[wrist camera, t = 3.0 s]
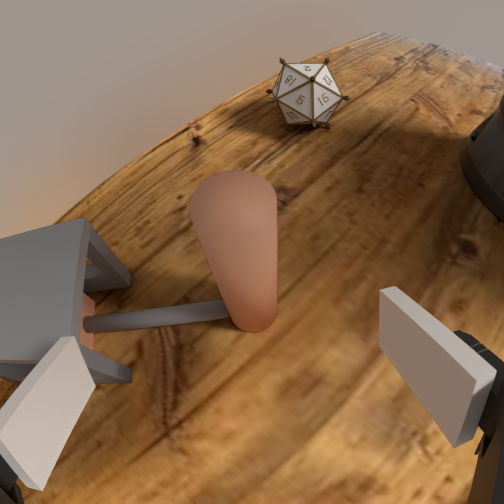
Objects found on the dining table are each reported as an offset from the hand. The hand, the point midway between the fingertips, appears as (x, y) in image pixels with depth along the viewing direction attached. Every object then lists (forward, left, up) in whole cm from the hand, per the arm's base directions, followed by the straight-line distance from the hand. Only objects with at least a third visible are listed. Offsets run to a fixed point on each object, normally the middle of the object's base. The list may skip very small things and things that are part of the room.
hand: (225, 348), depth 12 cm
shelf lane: (+16, -5, -11) cm, 20 cm away
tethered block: (+7, -5, -11) cm, 14 cm away
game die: (-10, -26, -11) cm, 30 cm away
